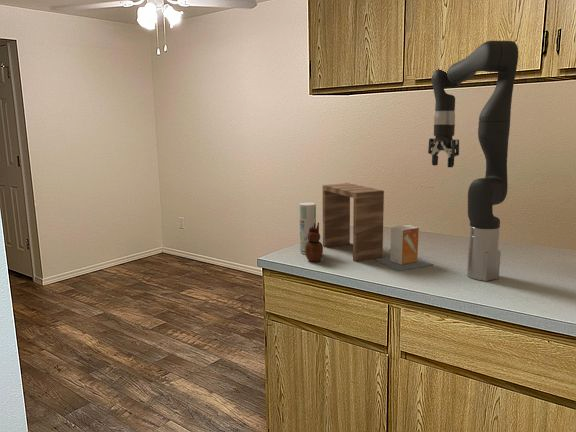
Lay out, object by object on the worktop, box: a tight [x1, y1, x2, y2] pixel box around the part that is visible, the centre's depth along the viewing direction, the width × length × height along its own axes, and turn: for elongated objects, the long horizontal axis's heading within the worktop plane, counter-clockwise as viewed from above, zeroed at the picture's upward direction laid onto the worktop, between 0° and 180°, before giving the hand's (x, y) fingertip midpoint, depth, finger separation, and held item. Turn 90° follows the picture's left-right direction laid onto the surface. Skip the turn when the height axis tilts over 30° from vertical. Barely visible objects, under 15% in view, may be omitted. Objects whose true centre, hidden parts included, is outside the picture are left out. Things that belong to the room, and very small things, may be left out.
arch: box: [322, 182, 385, 263], centre depth 196 cm, size 26×12×26 cm, turn 24°
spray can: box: [299, 201, 317, 256], centre depth 196 cm, size 6×6×20 cm
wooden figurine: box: [304, 221, 324, 263], centre depth 186 cm, size 7×6×15 cm
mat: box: [374, 256, 434, 272], centre depth 182 cm, size 15×15×1 cm
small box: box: [389, 224, 420, 265], centre depth 181 cm, size 8×6×13 cm
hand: (442, 166), depth 188 cm, fingers open, 8 cm apart
